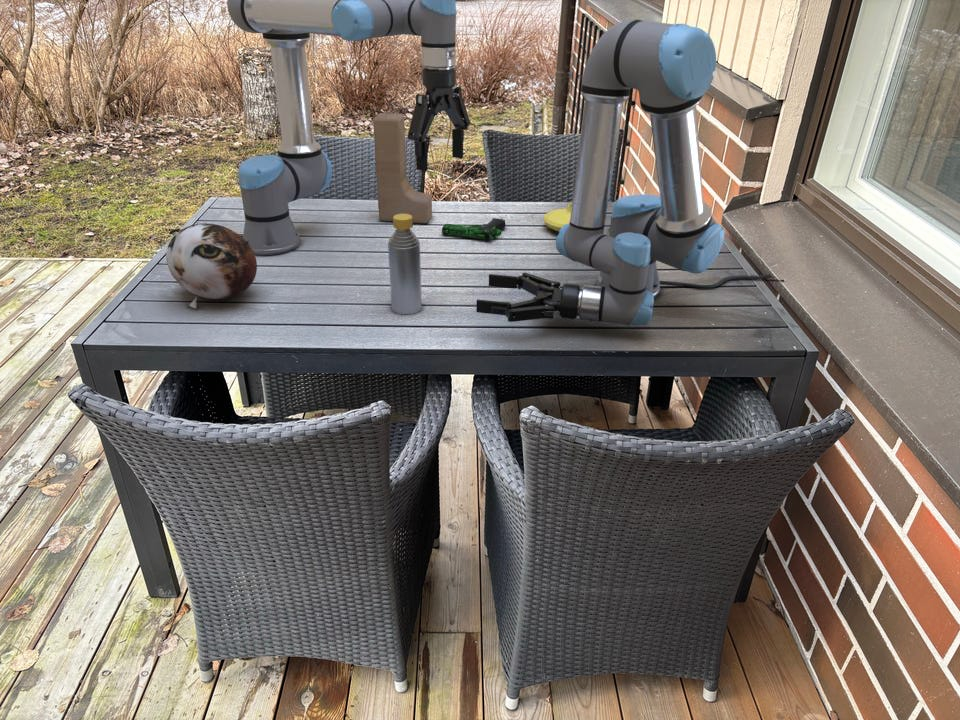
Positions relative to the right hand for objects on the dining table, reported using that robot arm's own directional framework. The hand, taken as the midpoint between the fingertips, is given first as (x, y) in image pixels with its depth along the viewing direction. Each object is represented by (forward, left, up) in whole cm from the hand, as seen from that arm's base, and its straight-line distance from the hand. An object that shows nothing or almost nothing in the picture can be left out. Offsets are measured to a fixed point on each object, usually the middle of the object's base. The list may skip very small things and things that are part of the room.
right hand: (482, 292), depth 158 cm
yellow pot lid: (-37, -51, -6) cm, 64 cm away
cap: (+16, -9, +15) cm, 24 cm away
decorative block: (+9, -68, -6) cm, 69 cm away
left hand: (+5, -26, +22) cm, 34 cm away
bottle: (+16, -9, -6) cm, 19 cm away
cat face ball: (+59, -23, -6) cm, 64 cm away
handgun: (-10, -53, -6) cm, 55 cm away
